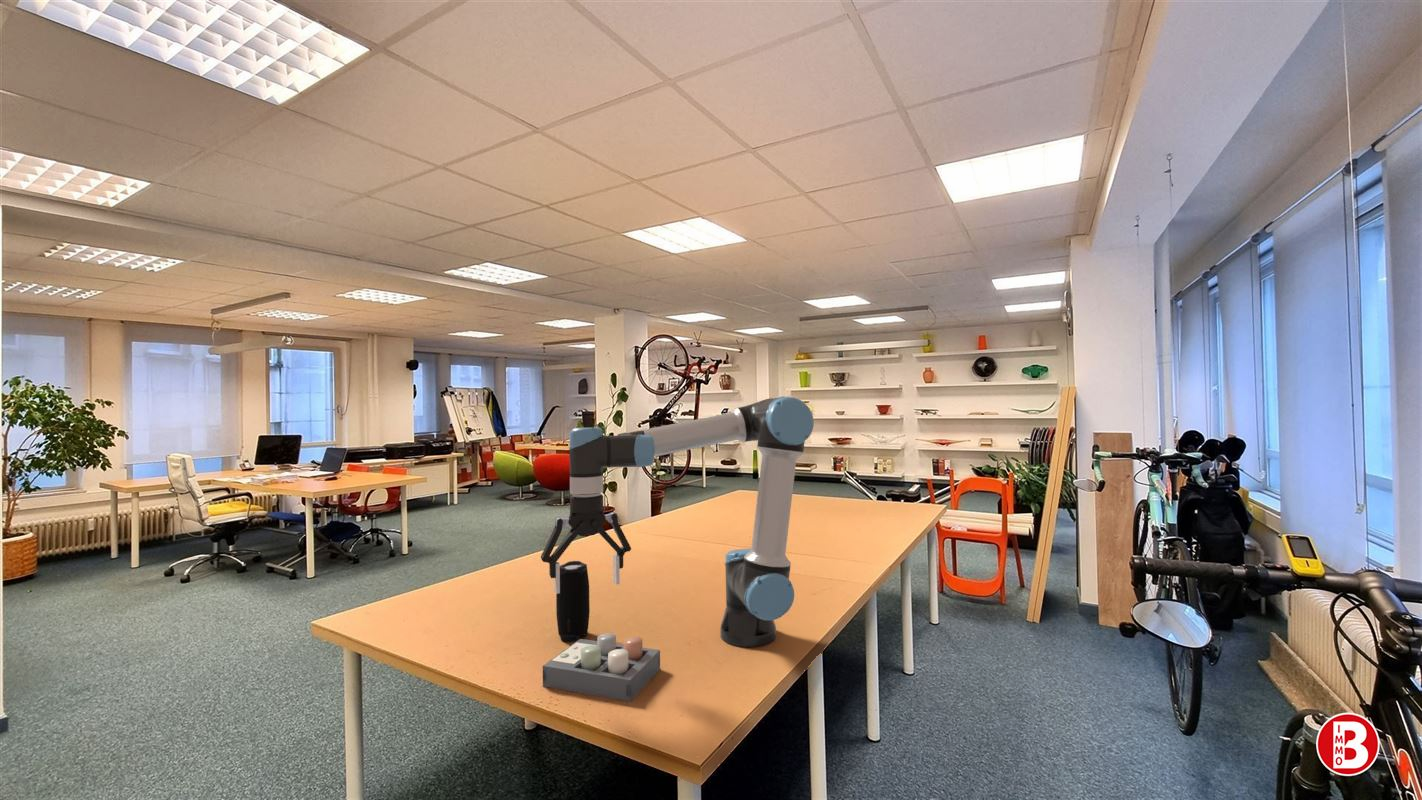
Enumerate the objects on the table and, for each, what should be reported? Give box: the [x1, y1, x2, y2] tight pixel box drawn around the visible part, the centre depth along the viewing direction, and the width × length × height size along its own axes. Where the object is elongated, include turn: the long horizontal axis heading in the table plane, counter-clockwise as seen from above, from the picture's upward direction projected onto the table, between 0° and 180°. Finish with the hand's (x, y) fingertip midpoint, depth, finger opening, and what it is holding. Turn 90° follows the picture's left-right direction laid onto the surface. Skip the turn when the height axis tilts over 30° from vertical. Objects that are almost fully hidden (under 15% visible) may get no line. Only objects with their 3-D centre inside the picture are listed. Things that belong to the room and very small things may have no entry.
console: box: [542, 638, 661, 703], centre depth 123 cm, size 22×15×5 cm
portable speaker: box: [555, 560, 591, 643], centre depth 146 cm, size 9×9×20 cm
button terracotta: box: [622, 636, 644, 661], centre depth 124 cm, size 4×4×4 cm
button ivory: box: [608, 649, 629, 675], centre depth 117 cm, size 4×4×4 cm
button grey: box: [596, 632, 617, 657], centre depth 126 cm, size 4×4×4 cm
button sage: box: [581, 645, 601, 671], centre depth 120 cm, size 4×4×4 cm
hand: (587, 587), depth 122 cm, fingers open, 13 cm apart
